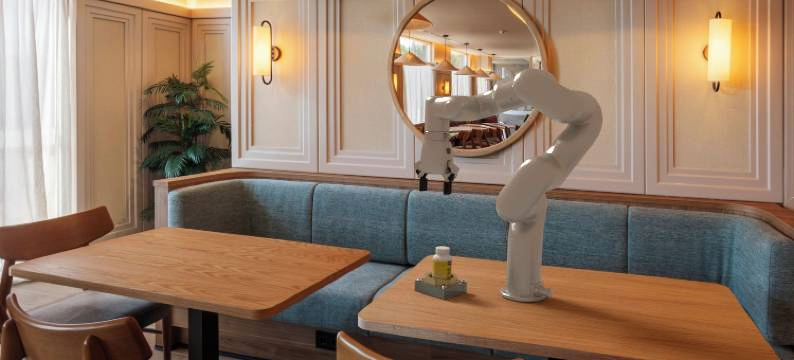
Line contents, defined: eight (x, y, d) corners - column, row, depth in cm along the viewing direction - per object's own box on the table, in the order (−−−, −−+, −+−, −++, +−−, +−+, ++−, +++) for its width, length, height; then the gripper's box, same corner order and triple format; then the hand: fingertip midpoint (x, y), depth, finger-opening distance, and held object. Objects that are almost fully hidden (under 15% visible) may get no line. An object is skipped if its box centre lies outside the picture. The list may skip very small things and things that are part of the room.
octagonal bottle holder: (466, 292, 170) (467, 276, 169) (444, 299, 162) (444, 283, 162) (437, 284, 177) (437, 269, 177) (414, 290, 170) (414, 275, 169)
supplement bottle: (449, 284, 166) (450, 250, 165) (430, 283, 167) (431, 249, 166) (452, 279, 171) (453, 246, 170) (433, 278, 173) (434, 245, 171)
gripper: (467, 138, 177) (465, 195, 179) (423, 135, 189) (422, 189, 191) (451, 138, 172) (449, 197, 174) (407, 136, 184) (406, 190, 186)
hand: (435, 192), depth 183 cm, fingers open, 9 cm apart
